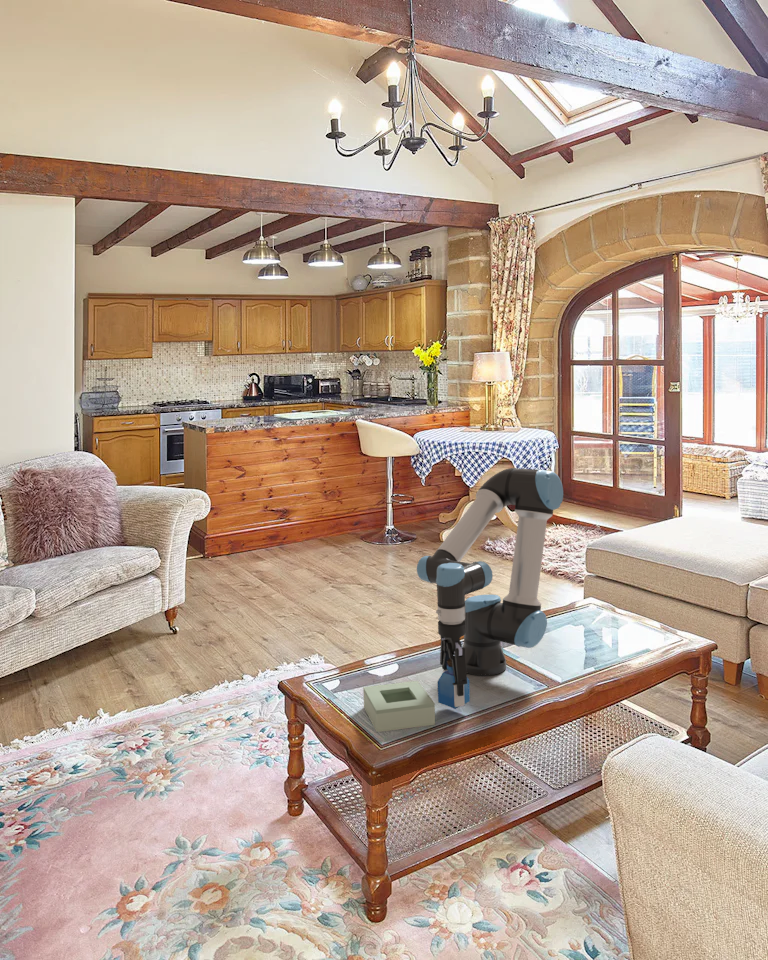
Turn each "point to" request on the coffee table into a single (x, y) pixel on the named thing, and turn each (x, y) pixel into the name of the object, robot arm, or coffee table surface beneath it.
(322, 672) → the coffee table surface
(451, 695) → the perfume bottle
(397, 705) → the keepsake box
